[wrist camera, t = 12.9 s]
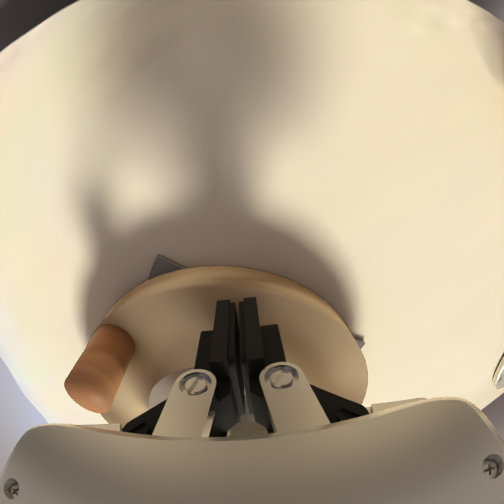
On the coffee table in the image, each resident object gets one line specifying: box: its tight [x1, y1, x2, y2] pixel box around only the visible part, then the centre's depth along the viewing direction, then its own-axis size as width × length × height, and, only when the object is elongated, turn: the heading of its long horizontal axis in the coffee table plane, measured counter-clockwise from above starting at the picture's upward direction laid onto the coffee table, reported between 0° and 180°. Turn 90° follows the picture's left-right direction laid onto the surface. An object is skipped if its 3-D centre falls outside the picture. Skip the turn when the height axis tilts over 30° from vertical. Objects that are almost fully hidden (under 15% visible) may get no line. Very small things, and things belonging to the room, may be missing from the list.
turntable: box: [64, 266, 368, 426], centre depth 13 cm, size 18×18×6 cm
